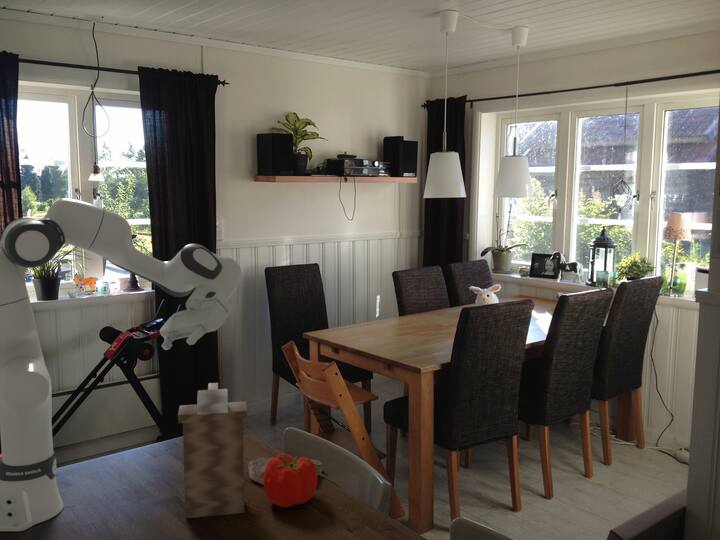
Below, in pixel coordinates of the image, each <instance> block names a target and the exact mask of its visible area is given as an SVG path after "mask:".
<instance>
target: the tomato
mask: <svg viewBox="0 0 720 540" xmlns="http://www.w3.org/2000/svg"><path fill="white" fill-rule="evenodd" d="M271 458H272V459H271V460H270V461H269V462H268V464H267V466H266V469H265V472H264V476H263V485H262V486H263V488H264V489H263V490H264V493H265V496H266V497H267V499H268V501H270V502H271V503H273V504H275V505H276V506H278V507H280V508H290V507H292V506H294V505H296V506H297V505H298V506H300V505H303V504H306V503H307V502H308V501H310V500H311V499H312V498H313V497H314V495H315V493H316V492H317V489H318V488H317V487H318V475H317V470H316V467H315V465H314V463H313V462H312V461H311V460H312V459H309V458H307V457H305V456H301V457H298V456H295V457H292V456H291V455H289V454H286V453H279V454H277V455H276V457H271ZM293 458H294V459H293ZM296 458H298V460H296Z"/></svg>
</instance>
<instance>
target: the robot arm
mask: <svg viewBox="0 0 720 540" xmlns="http://www.w3.org/2000/svg"><path fill="white" fill-rule="evenodd" d="M64 245H70V246H74V247H78V248H80V249H83V250H85V251H87V252H88V251H89V252H92V253H93V254H96V255H99V256H101V257H102V258H104V259H106V260H107V261H108V262H109V263H111V264H112V265H113V266H114V267H115V266H116V267H117V268H119V269H121V270H123V271H126V272H128V273H129V274H132V275H135V276H136V277H139V278H142V279H144V280H145V281H148V282H150V283H152V284H154V285H156V286H157V287H158V288H159V289H161V290H162V291H163V292H165V293H167V295H170V296H171V297H176V298H183V297H186V296H188V295H190V296H189V297H188V299H187V300H186V301H185V308H186V309H184V310H180V311H177V312H175V313H173V314H172V315H171V316H170V317H169V318H168V319H167V320H166V322H164V324H163V325H162V327H160V330H159V335H161V337H162V338H163V340H164V341H163V343H162V344H161V348H162V349H163V350H164V351H168V350H171V348H172V346H173V344H172V343H173V342H174V341H175V340H179V339H183V338H186V339H185V341H186V343H187V344H188V345H189V346H192V345H195V344H196V343H197V341H199V339H201V338H202V337H203V336H204V335H205V334H207V333H211V332H216V331H218V330H219V329H220V327H221V326H223V324H224V323H225V321H226V319H228V317H229V315H230V314H232V313H233V311H234V308H233V307H232V305H231V304H230V303H229V301H228V300H229V299H230V298H231V297H232V295H233V294H234V292H235V291H236V290H237V288H238V285H239V283H240V281H241V277H242V269H241V267H240V264H238V261H236V260H235V259H234V258H232V257H230V256H227V255H225V256H224V255H219V254H217V253H216V254H215V253H214V252H211V251H210V250H209V249H208V248H206V246H204V245H201V244H199V243H189V244H186V245H185V246H184V247H182V249H181V250H179V251H178V252H177V254H175V256H174V257H173V258H172V259H170V260H168V261H162V260H159V259H158V258H156V257H153V256H151V255H149V254H147V253H144V252H142V251H140V250H139V249H137V248H136V247H135V246H134V244H133V234H132V227H131V226H130V224H129V222H128V220H127V219H126V218H125V217H123V216H122V215H121V214H119V213H117V212H115V211H113V210H109V209H107V208H104V207H102V206H99V205H96V204H93V203H90V202H87V201H83V200H77V199H73V198H67V197H62V198H59V199H57V200H56V201H54V202H53V203H52V204H51V205H50V207H49V208H48V209H47V212H46V214H45V216H43V217H42V218H33V217H19V218H16V219H14V220H11V221H10V222H8V224H7V225H6V226H5V227H4V229H3V230H2V233H1V236H0V447H1V450H0V451H1V453H0V532H23V531H25V530H27V529H30V528H31V527H33V526H35V525H37V524H40V523H42V522H46V521H48V520H50V519H51V518H53V517H55V516H57V515H58V514H59V513H60V512H61V511H62V510H63V509H64V502H63V500H62V497H61V494H60V491H59V487H58V483H57V478H56V475H57V472H58V471H57V467H58V466H57V458H56V453H55V451H54V443H53V427H52V426H53V425H52V415H53V414H52V413H53V412H52V410H53V409H52V408H53V407H52V406H53V404H52V403H53V402H52V401H53V399H52V398H53V395H52V391H53V390H52V378H51V375H50V373H49V371H48V367H47V365H46V362H45V358H44V354H43V350H42V345H41V342H40V336H39V331H38V326H37V323H36V320H35V319H36V318H35V315H34V312H33V307H32V304H31V299H30V295H29V292H28V287H27V284H26V273H27V270H28V269H34V268H35V269H36V268H40V267H42V266H45V265H46V264H48V263H49V262H50V261H51V260H52V259H53V258H54V257H55V256H56V255H57V253H58V252H59V251H60V250H61V248H62V247H63V246H64Z"/></svg>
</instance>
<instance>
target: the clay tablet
mask: <svg viewBox="0 0 720 540" xmlns="http://www.w3.org/2000/svg"><path fill="white" fill-rule="evenodd" d="M272 458H273V457H260V458H256V459H254V460H250V461H249V462H248V464H247V469H248V475H249V478H250V479H251V480H252V481H254V482H255V483H259V485H262V486H264V485H263V476H264V472H265V469H266V466H267V464H268V462H269V461H270V460H271V459H272ZM292 458H293V459H294V458H295V457H292ZM298 459H299V457H297V458H296V460H298ZM310 460H311V461H312V462H313V463H314V465H315V467H316V470H317V476H320V475H321V474H322V472H323V465H324V464H323V462H322V461H320V460H317V459H310Z"/></svg>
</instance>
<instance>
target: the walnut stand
mask: <svg viewBox="0 0 720 540" xmlns="http://www.w3.org/2000/svg"><path fill="white" fill-rule="evenodd" d="M247 405H248V404H247V401H231V402H229V401H228V413H216V414H201V415H198V409H197V403H196V404H184V405H183V404H182V405H179V408H178V413H177V423H178V424H182V436H183V438H182V439H183V440H182V442H183V443H182V444H183V447H182V449H183V471H184V474H183V475H184V476H183V477H184V480H183V481H184V504H185V505H184V507H185V508H184V510H185V519H193V518H202V517H204V518H205V517H215V516H223V515H224V516H225V515H236V514H244V513H246V512H245V509H246V508H245V506H246V505H245V502H246V501H245V460H244V458H245V457H244V456H245V455H244V453H245V452H244V447H245V446H244V420H248V407H247Z"/></svg>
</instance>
